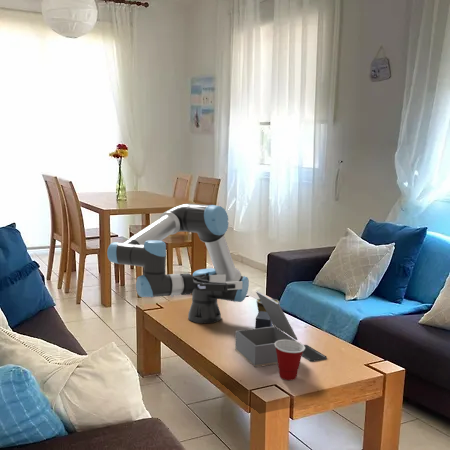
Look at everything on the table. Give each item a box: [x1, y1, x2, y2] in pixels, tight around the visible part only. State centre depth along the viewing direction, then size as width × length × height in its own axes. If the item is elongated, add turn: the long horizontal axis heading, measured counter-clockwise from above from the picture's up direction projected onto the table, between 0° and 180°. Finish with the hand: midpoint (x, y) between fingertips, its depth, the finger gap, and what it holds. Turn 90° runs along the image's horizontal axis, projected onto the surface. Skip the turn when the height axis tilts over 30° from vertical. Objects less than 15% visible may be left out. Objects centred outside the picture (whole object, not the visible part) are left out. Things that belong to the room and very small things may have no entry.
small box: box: [254, 311, 274, 329], centre depth 237 cm, size 11×6×10 cm, turn 168°
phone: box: [301, 344, 327, 363], centre depth 222 cm, size 8×1×15 cm
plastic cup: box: [274, 340, 305, 381], centre depth 199 cm, size 11×11×12 cm
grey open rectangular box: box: [234, 325, 297, 368], centre depth 219 cm, size 18×17×8 cm
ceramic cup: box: [256, 298, 280, 313], centre depth 261 cm, size 13×10×10 cm
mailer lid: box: [255, 290, 299, 341], centre depth 219 cm, size 18×17×1 cm
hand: (233, 281), depth 210 cm, fingers open, 13 cm apart
